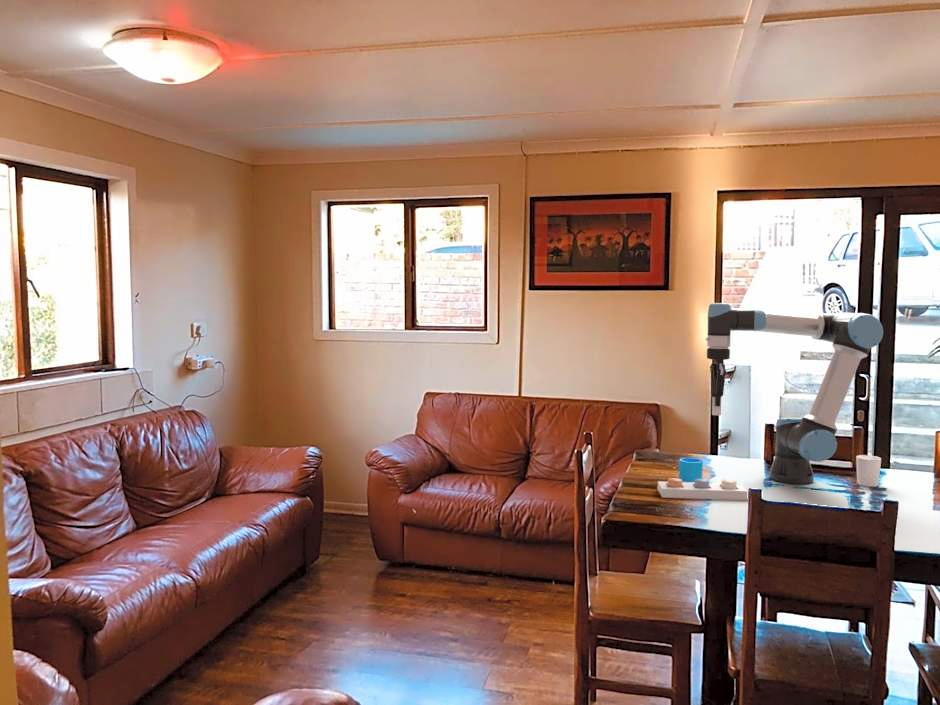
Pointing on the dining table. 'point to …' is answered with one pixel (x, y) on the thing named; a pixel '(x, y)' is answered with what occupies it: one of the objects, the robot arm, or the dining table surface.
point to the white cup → (868, 470)
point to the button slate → (701, 483)
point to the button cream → (728, 484)
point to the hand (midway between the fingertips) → (716, 414)
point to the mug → (690, 469)
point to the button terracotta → (675, 482)
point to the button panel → (702, 491)
